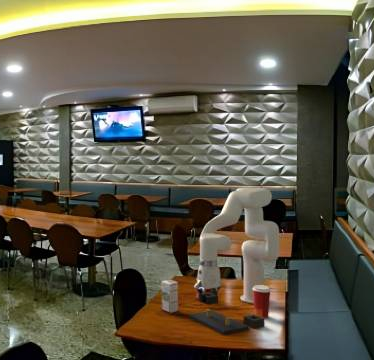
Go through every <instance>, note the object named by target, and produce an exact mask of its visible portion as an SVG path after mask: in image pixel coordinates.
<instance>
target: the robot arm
mask: <svg viewBox="0 0 374 360" xmlns="http://www.w3.org/2000/svg"><path fill="white" fill-rule="evenodd" d="M272 198H273V196H272V192H271V190H269V189H268V188H266V187H248V186H247V187H238V188H237V189H236V190H233V191H231V192H230V193H229V194H228V196H227V199H226V201H225V203H224V205H223V208H222V210H221V211H220V213H219V214H218V215H217V216H215V217H213V218H212V219H210V220H209V221H208V222H207V223H206V224H205V225H204V227H203V229H202V231H201V233H200V236H199V261H198V265H199V266H198V270H197V277H196V278H197V283H196V282H195V284H194V286H193V288H194V290H195V291H196V290H197V291H198V293H200V301H199V302H200V303H202V304H204V303H205V294H204V293H205V290H206V289H211V288H212V291H211V293H212V294H214V295H217V296H218V293H219V290H220V289H221V287H222V286H223V282H222V281H221V280H222V279H221V271H220V266H219V265H218V252H226V251H228V250H230V248H231V247H232V239H231V238H230V237H229V236H228V235H225V234H219V233H216V232H217V231H218V230H220V229H222V228H223V229H224V228H226V227H229V226H232V225H235V224H237V223H238V221H239V219H240V217H241V215H242V213H243V210H244V233H245V236H247V237H248V238H251V239H250V240H249V239H247V240H245V241H244V242H243V243H242V244H241V254H242V257H243V258H242V260H243V295H240V301H241V302H244V303H247V304H251V305H252V304H253V305H254V291H253V287H254V286H255V285H263V286H265V283H264V282H265V268H264V264H263V263H262V261H264V262H270V263H273V262H276V261H278V259H279V257H280V228H279V225H278V224H277V223H276V222H274V221H270V220H264V211H263V207H266V206H269V204H270V203H271V201H272ZM252 239H253V240H252ZM256 239H258V240H256ZM261 240H265V241H261ZM199 287H200V288H199ZM202 288H203V290H202Z"/></svg>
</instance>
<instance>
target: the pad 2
mask: <svg viewBox="0 0 374 360" xmlns="http://www.w3.org/2000/svg"><path fill="white" fill-rule="evenodd" d="M243 324H245V325H247V326H249V328H252V329H259V328H264V327H265V318H261V317H259V316H256V315H255V314H248V315H244V316H243Z"/></svg>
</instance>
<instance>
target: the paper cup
mask: <svg viewBox="0 0 374 360" xmlns="http://www.w3.org/2000/svg"><path fill="white" fill-rule="evenodd" d="M253 291H254V304H253V306H254V315H256V316H259V317H261V318H263V319H268V318H269V311H270V298H271V291H272V290H271V288H270V287H269V286H267V285H264V286H263V285H255V286H254V287H253Z"/></svg>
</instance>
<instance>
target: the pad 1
mask: <svg viewBox="0 0 374 360" xmlns="http://www.w3.org/2000/svg"><path fill="white" fill-rule="evenodd" d="M204 294H205V303H203V305H207V306H210V305H217V304H219V295H218V294H217V295H214V294H212V293H204ZM198 302H200V294H199V300H198Z"/></svg>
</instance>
